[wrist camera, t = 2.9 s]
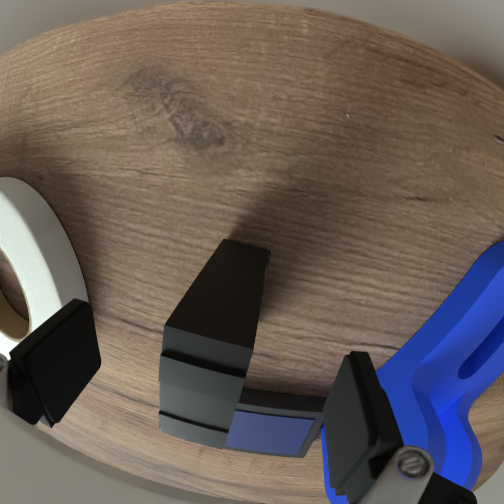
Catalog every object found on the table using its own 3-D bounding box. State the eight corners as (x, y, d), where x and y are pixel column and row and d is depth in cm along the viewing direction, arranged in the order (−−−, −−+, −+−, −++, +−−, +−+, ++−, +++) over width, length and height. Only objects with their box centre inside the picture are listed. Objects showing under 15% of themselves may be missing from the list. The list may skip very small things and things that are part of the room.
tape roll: (80, 173, 13) (46, 180, 11) (108, 384, 18) (92, 408, 16) (-33, 179, 14) (-57, 185, 12) (-5, 331, 19) (-21, 344, 17)
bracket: (388, 443, 18) (407, 529, 10) (319, 416, 17) (326, 531, 9) (543, 283, 12) (614, 342, 4) (507, 211, 11) (618, 265, 3)
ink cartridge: (249, 332, 15) (223, 457, 8) (208, 321, 15) (158, 439, 8) (272, 247, 14) (258, 357, 6) (225, 235, 14) (160, 330, 6)
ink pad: (326, 397, 16) (328, 414, 15) (303, 444, 18) (303, 459, 17) (188, 376, 17) (181, 392, 16) (189, 427, 19) (184, 441, 17)
